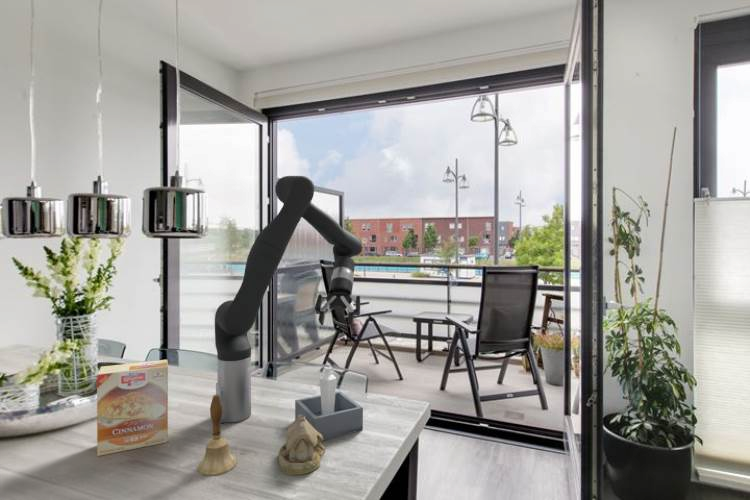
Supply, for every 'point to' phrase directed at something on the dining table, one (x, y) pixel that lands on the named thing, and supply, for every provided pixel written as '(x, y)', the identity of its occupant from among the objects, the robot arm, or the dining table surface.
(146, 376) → the coffeecake box
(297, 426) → the ceramic model
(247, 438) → the dining table surface
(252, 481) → the dining table surface
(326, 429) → the tote
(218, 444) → the hand bell
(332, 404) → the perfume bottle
